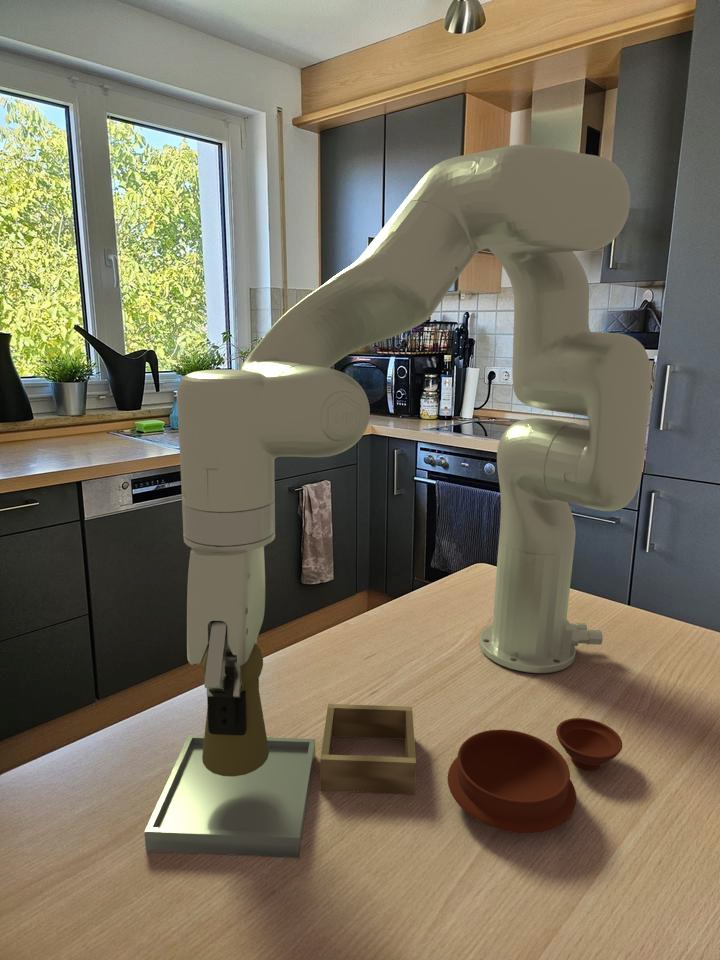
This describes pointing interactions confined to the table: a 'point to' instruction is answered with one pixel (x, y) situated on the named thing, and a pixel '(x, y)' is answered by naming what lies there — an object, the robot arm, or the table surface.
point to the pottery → (527, 774)
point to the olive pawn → (252, 747)
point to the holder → (368, 770)
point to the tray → (235, 804)
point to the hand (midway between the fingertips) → (235, 711)
